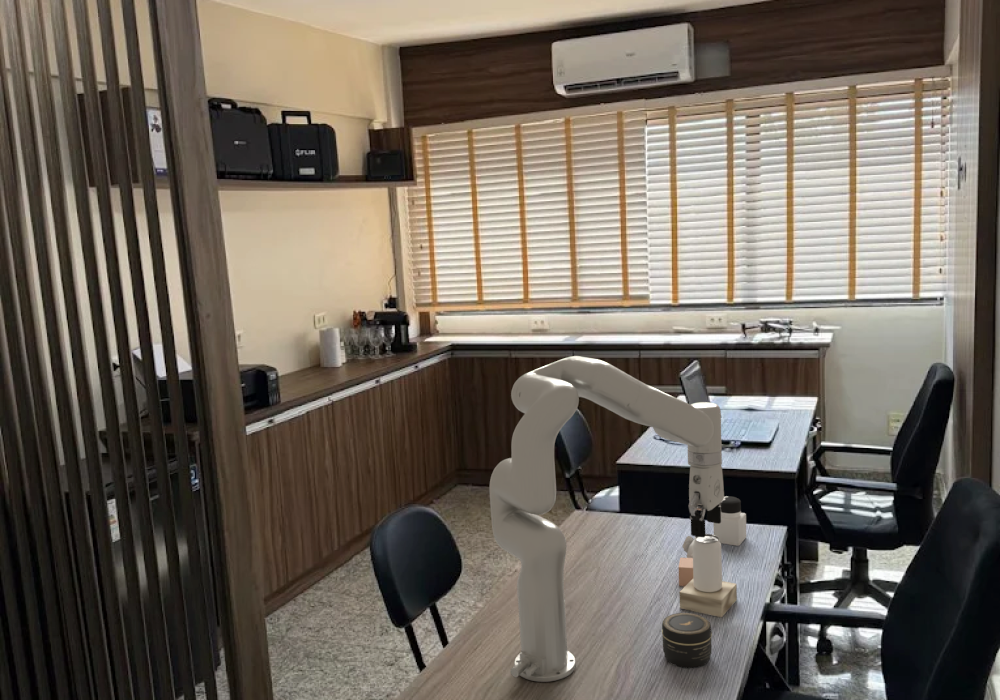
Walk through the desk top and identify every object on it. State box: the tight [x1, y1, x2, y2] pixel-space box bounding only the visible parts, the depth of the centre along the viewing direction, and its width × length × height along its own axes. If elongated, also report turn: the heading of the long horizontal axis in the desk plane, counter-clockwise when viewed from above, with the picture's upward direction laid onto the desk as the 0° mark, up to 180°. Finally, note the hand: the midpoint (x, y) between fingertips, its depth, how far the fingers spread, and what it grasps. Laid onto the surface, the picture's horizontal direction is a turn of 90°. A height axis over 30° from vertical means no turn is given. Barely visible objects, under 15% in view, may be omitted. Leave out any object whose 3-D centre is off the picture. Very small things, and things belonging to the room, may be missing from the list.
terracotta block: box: [677, 557, 693, 587], centre depth 210 cm, size 6×6×5 cm
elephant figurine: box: [682, 535, 695, 558], centre depth 220 cm, size 8×10×7 cm
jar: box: [661, 612, 713, 669], centre depth 174 cm, size 10×10×8 cm
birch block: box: [679, 579, 738, 618], centre depth 198 cm, size 10×10×4 cm
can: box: [693, 533, 723, 593], centre depth 197 cm, size 6×6×12 cm
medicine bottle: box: [712, 495, 747, 547], centre depth 234 cm, size 7×7×12 cm
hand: (706, 529), depth 195 cm, fingers open, 9 cm apart
